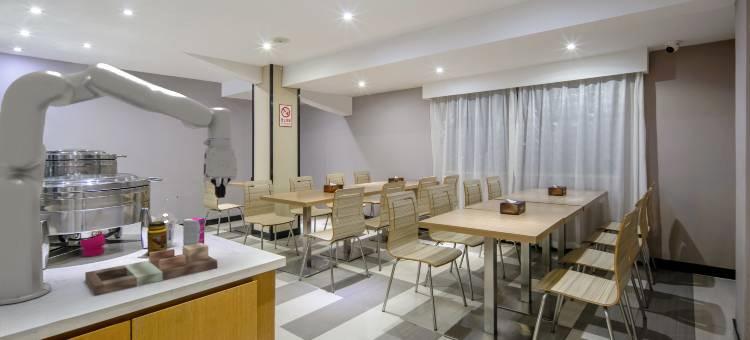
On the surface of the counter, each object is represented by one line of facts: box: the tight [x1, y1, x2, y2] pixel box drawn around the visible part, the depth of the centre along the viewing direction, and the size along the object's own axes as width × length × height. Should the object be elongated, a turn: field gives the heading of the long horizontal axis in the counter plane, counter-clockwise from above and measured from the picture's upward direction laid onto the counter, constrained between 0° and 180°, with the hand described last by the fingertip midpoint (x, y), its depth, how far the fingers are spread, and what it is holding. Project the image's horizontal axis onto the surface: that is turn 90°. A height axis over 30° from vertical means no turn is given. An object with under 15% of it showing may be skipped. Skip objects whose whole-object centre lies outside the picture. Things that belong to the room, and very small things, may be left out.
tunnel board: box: [84, 248, 218, 296], centre depth 112 cm, size 32×15×6 cm, turn 136°
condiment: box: [137, 221, 168, 259], centre depth 132 cm, size 7×8×12 cm
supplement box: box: [182, 217, 206, 247], centre depth 142 cm, size 6×6×12 cm
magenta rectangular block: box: [79, 231, 106, 257], centre depth 131 cm, size 7×7×20 cm
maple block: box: [182, 243, 209, 262], centre depth 121 cm, size 6×6×4 cm
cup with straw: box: [152, 196, 179, 249], centre depth 143 cm, size 8×9×20 cm
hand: (220, 197), depth 126 cm, fingers closed
